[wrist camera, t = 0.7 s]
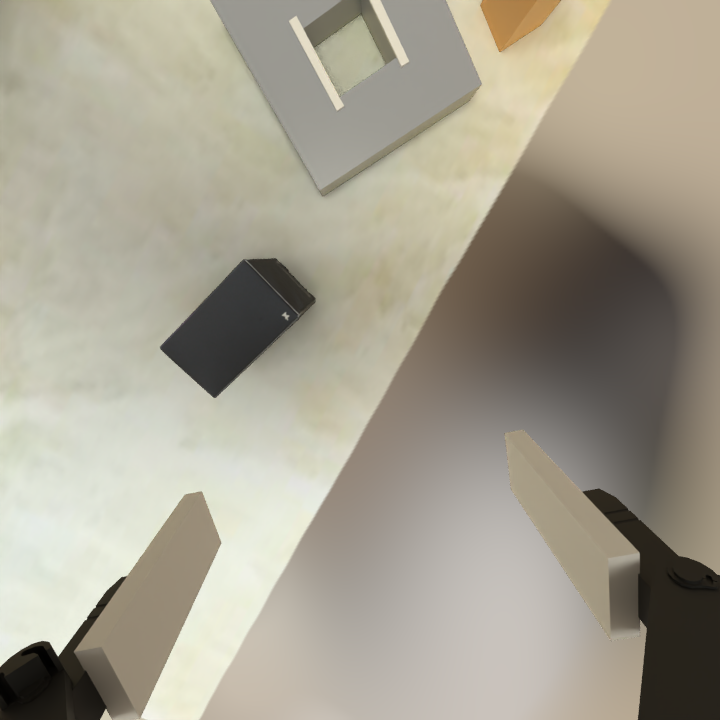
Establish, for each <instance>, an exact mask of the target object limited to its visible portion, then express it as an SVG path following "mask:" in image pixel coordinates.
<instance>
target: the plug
mask: <svg viewBox="0 0 720 720" xmlns="http://www.w3.org/2000/svg"><path fill="white" fill-rule="evenodd" d="M560 1H561V0H483V1H482V3H481V5H480V6H481V8H482V10H483V13H484V15H485V18H486V20H487V23H488V25H489V27H490V30H491V32H492V35H493V37H494V40H495V42H496V44H497V47H498V49H499V52H501V51H503V50H504V49H506V48H507V47H509V46H510V45H512V44H513V43H515V42H516V41H518V40H519V39H521V38H522V37H524V36H525V35H527V34H528V33H530V32H531V31H533V30H534V29H536V28H537V27H539V26H540V25H541V24H542V23H543V22H544V21H545V19H546V18H547V17H548V16H549V14H550V13H551V12H552V11H553V10H554V8H555V7H556V6H557V5H558V3H559V2H560Z"/></svg>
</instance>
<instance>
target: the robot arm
mask: <svg viewBox="0 0 720 720" xmlns="http://www.w3.org/2000/svg"><path fill="white" fill-rule="evenodd" d="M505 441H506V451H507V460H508V468H509V477H510V486H511V490H512V492H513V493H514V495H515V496H516V498H517V499H518V501H519V502H520V504H521V505H522V507H523V508H524V510H525V511H526V513H527V515H528V516H529V517H530V519H531V520H532V522H533V523H534V525H535V526H536V528H537V530H538V531H539V533H540V534H541V536H542V537H543V539H544V540H545V542H546V543H547V545H548V546H549V548H550V549H551V551H552V552H553V554H554V556H555V557H556V559H557V560H558V561H559V563H560V565H561V566H562V567H563V569H564V571H565V572H566V574H567V575H568V577H569V578H570V580H571V581H572V583H573V584H574V586H575V587H576V589H577V590H578V592H579V593H580V595H581V597H582V598H583V599H584V601H585V603H586V604H587V606H588V607H589V609H590V610H591V611H592V613H593V615H594V616H595V618H596V619H597V621H598V622H599V624H600V625H601V627H602V629H603V630H604V632H605V633H606V635H607V636H608V637H609V639H610V641H615V640H620V639H627V638H632V637H639V636H640V620H641V621H642V622H643V624H644V625H645V626H646V628H647V633H646V643H645V655H644V665H643V675H642V684H641V695H640V704H639V715H638V720H720V575H717V574H716V573H715V572H714V571H713V570H711V569H710V568H708V567H707V566H705V565H703V564H702V563H700V562H697V561H695V560H692V559H689V558H686V557H680V556H678V555H677V554H676V553H675V552H674V551H673V550H671V549H670V548H669V547H668V546H667V545H666V544H665V543H664V542H663V541H662V540H661V539H660V538H659V537H657V536H656V535H655V534H654V533H653V532H652V531H651V530H650V529H649V528H648V527H647V526H646V525H645V524H644V523H643V522H642V521H641V520H638V518H637V517H636V516H635V515H634V514H633V513H632V512H631V511H629V510H628V508H627V507H626V506H625V505H623V504H622V503H621V502H620V501H619V500H618V499H617V498H616V497H614V496H612V495H610V494H608V493H606V492H605V491H603V490H601V489H595V490H590V491H584V492H582V491H581V490H580V489H579V488H578V487H577V486H576V485H575V484H574V483H573V482H572V481H571V480H570V479H569V478H568V477H567V476H566V475H565V474H564V472H563V471H562V470H561V469H560V468H559V467H558V466H557V465H556V464H555V463H554V462H553V461H552V460H551V459H550V458H549V457H548V456H547V455H546V453H545V452H544V451H542V449H541V448H540V447H539V446H538V445H537V444H536V443H535V442H534V441H533V440H532V439H531V438H530V437H529V436H528V434H527V433H526V432H524V430H519V431H513V432H508V433H505ZM220 545H221V541H220V538H219V535H218V533H217V530H216V527H215V525H214V522H213V519H212V517H211V514H210V512H209V509H208V506H207V504H206V501H205V498H204V496H203V493H202V491H201V492H196V493H191V494H186V495H184V497H183V498H182V499H181V501H180V502H179V504H178V505H177V507H176V508H175V509H174V511H173V512H172V514H171V515H170V516H169V518H168V519H167V521H166V522H165V524H164V525H163V526H162V528H161V529H160V531H159V532H158V533H157V535H156V536H155V538H154V539H153V540H152V542H151V543H150V545H149V546H148V548H147V549H146V550H145V552H144V553H143V555H142V556H141V557H140V559H139V560H138V562H137V563H136V565H135V566H134V567H133V569H132V570H131V572H130V573H129V574H128V576H126V577H121V578H120V579H119V580H118V581H117V582H116V583H115V584H114V585H113V586H112V587H110V588H109V589H108V590H107V591H106V593H105V594H104V595H103V597H102V598H101V599H100V601H99V602H98V603H97V605H96V608H94V609H93V610H92V612H91V613H90V614H89V616H88V617H87V620H85V621H84V622H83V624H82V625H81V627H80V628H79V629H78V631H77V632H76V633H75V635H74V636H73V637H72V639H71V640H70V641H69V643H68V644H67V646H66V647H65V648H64V650H63V651H62V652H61V654H60V655H59V656H57V655H56V653H55V651H54V649H53V648H52V646H51V644H50V643H49V642H46V641H41V642H37V643H34V644H31V645H30V646H28V647H26V648H24V649H22V650H20V651H19V652H18V653H16V654H15V655H13V656H12V657H11V658H9V659H8V660H7V661H6V662H5V663H4V664H3V665H2V666H1V667H0V720H100V718H101V717H102V715H103V713H104V711H105V709H107V711H108V713H109V715H110V716H111V718H112V720H135V719H140V718H141V715H142V713H143V711H144V709H145V707H146V705H147V703H148V700H149V698H150V696H151V694H152V692H153V690H154V687H155V685H156V683H157V681H158V679H159V677H160V674H161V672H162V670H163V668H164V666H165V664H166V661H167V659H168V657H169V655H170V653H171V651H172V649H173V646H174V644H175V642H176V640H177V638H178V636H179V633H180V631H181V629H182V627H183V625H184V623H185V620H186V618H187V616H188V614H189V612H190V610H191V607H192V605H193V603H194V601H195V599H196V597H197V595H198V592H199V590H200V588H201V586H202V584H203V582H204V579H205V577H206V575H207V573H208V571H209V569H210V566H211V564H212V562H213V560H214V558H215V556H216V554H217V551H218V549H219V547H220Z"/></svg>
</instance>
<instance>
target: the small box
mask: <svg viewBox="0 0 720 720" xmlns="http://www.w3.org/2000/svg"><path fill="white" fill-rule="evenodd" d="M314 303H315V298H314V297H313V296H312V295H311V294H310V293H308V292H307V290H306V289H305V288H304V287H303V286H302V285H301V284H300V283H299V282H298V281H297V280H296V279H295V278H294V276H292V275H291V274H290V273H289V271H288V269H286V267H284V266H283V265H282V264H281V263H280V262H279V261H278V260H277V259H275V258H274V259H250V260H247V259H244V260H242V261H241V262H240V264H239V265H238V266H237V267H236V268H235V269H234V270H233V271H232V272H231V273H230V274H229V275H228V276H227V277H226V278H225V279H224V280H223V281H222V283H221V284H220V285H219V286H218V287H217V288H216V289H215V290H214V291H213V292H212V293H211V294H210V295H209V296H208V297H207V298H206V299H205V300H204V302H203V303H202V304H201V305H200V306H199V307H198V308H197V309H196V310H195V311H194V312H193V313H192V314H191V315H190V316H189V317H188V318H187V319H186V320H185V321H184V322H183V323H182V324H181V326H180V327H179V328H178V329H177V330H176V331H175V332H174V333H173V334H172V335H171V336H170V337H169V338H168V339H167V340H166V341H165V342H164V343H163V344H162V345H161V346H160V349H161V350H162V351H163V352H164V353H165V354H166V355H167V356H168V357H169V358H170V359H171V360H173V361H174V362H175V363H176V364H177V365H178V366H179V367H180V368H181V369H182V370H184V371H185V372H186V373H187V374H188V375H189V376H190V377H191V378H192V379H194V380H195V381H196V382H197V383H198V384H199V385H200V386H201V387H202V388H204V389H205V390H206V391H207V392H208V393H209V394H210V395H211V396H213V397H214V398H216V397H217V396H218V395H219V394H220V393H221V392H222V391H223V390H224V389H225V388H227V387H228V386H229V385H230V384H231V383H232V382H233V381H234V380H235V379H236V378H237V377H238V376H239V375H240V374H241V373H242V372H243V371H244V370H246V368H248V367H249V366H250V365H251V364H252V363H253V362H254V361H255V360H256V359H257V358H258V357H259V356H260V355H261V354H262V353H263V352H264V351H265V350H267V348H269V347H270V346H271V345H272V344H273V343H274V342H275V341H276V340H277V339H278V338H279V337H280V336H281V335H282V334H283V333H284V332H285V331H286V330H287V329H289V328H290V327H291V326H292V325H293V323H295V322H296V321H297V320H298V319H299V318H300V317H301V316H302V315H303V314H304V313H305V312H306V311H307V310H308V309H309V308H310V307H311V306H312V305H313V304H314Z"/></svg>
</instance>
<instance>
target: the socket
mask: <svg viewBox="0 0 720 720" xmlns="http://www.w3.org/2000/svg"><path fill="white" fill-rule="evenodd" d="M210 1H211V3H212V5H213V7H214V8H215V10H216V12H217V13H218V15H219V17H220V19H221V20H222V22H223V24H224V26H225V27H226V29H227V31H228V33H229V34H230V36H231V38H232V39H233V41H234V43H235V45H236V46H237V48H238V50H239V52H240V53H241V55H242V57H243V59H244V60H245V62H246V64H247V65H248V67H249V69H250V71H251V72H252V74H253V76H254V78H255V79H256V81H257V83H258V85H259V86H260V88H261V90H262V92H263V93H264V95H265V97H266V98H267V100H268V102H269V104H270V105H271V107H272V109H273V111H274V112H275V114H276V116H277V118H278V119H279V121H280V123H281V124H282V126H283V128H284V130H285V131H286V133H287V135H288V137H289V138H290V140H291V142H292V144H293V145H294V147H295V149H296V150H297V152H298V154H299V156H300V157H301V159H302V161H303V163H304V164H305V166H306V168H307V170H308V171H309V173H310V175H311V177H312V178H313V180H314V182H315V183H316V185H317V187H318V189H319V190H320V192H321V194H322V196H324V195H326V194H327V193H329V192H330V191H332V190H334V189H335V188H337V187H338V186H340V185H341V184H343V183H344V182H346V181H347V180H349V179H350V178H352V177H353V176H355V175H356V174H358V173H360V172H361V171H363V170H364V169H366V168H367V167H369V166H370V165H372V164H373V163H375V162H376V161H378V160H379V159H381V158H383V157H384V156H386V155H387V154H389V153H390V152H392V151H393V150H395V149H396V148H398V147H399V146H401V145H402V144H404V143H405V142H407V141H409V140H410V139H412V138H413V137H415V136H416V135H418V134H419V133H421V132H422V131H424V130H425V129H427V128H428V127H430V126H431V125H433V124H435V123H436V122H438V121H439V120H441V119H442V118H444V117H445V116H447V115H448V114H450V113H451V112H453V111H454V110H456V109H458V108H459V107H461V106H462V105H464V104H465V103H467V102H468V101H470V99H471V98H472V97H473V95H474V94H475V93H476V91H477V90H478V89H479V87H480V86H481V85H482V83H481V81H480V78H479V76H478V74H477V71H476V69H475V67H474V64H473V62H472V60H471V57H470V55H469V53H468V50H467V48H466V46H465V44H464V41H463V39H462V37H461V34H460V32H459V30H458V27H457V25H456V23H455V20H454V18H453V16H452V13H451V11H450V9H449V7H448V4H447V2H446V0H210ZM360 14H362V16H363V18H364V20H365V22H366V24H367V27H368V29H369V31H370V33H371V35H372V37H373V39H374V41H375V43H376V45H377V47H378V49H379V51H380V53H381V55H382V57H383V59H384V61H385V63H386V65H385V66H383V67H382V68H380V69H379V70H378V71H376V72H375V73H373V74H372V75H370V76H369V77H367V78H366V79H365V80H363V81H362V82H360V83H359V84H357V85H356V86H354V87H353V88H351V89H350V90H349V91H347V92H346V93H344V94H343V95H341V96H340V97H339V95H338V93H337V92H336V90H335V88H334V86H333V84H332V82H331V80H330V78H329V76H328V75H327V73H326V71H325V69H324V67H323V65H322V63H321V61H320V59H319V57H318V56H317V54H316V52H315V50H314V47H315V46H317V45H318V44H319V43H321V42H322V41H324V40H325V39H326V38H328V37H329V36H331V35H332V34H333V33H335V32H336V31H338V30H339V29H340V28H342V27H343V26H345V25H346V24H347V23H349V22H350V21H352V20H353V19H354V18H356V17H357V16H358V15H360Z"/></svg>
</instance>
